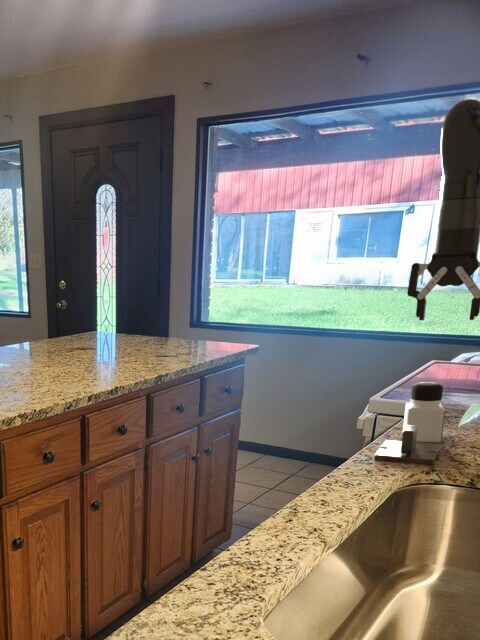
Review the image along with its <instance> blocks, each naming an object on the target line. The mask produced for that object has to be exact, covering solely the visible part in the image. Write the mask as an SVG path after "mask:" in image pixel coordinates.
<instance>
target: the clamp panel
mask: <svg viewBox="0 0 480 640" xmlns="http://www.w3.org/2000/svg"><path fill="white" fill-rule="evenodd" d="M401 446H402V440H401V441H400V440H388V439H387V440H386V439H385V441H384V442H383V444H382V445H380V446H379V449H377V451H376V453H375V454H374V459H373V461H376V462H385V463H386V462H387V463H397V464H398V463H399V464H407V465H418V466H429V467H432V466H434V464H435V462H436V460H437V457H438V455H439V453H440V451H441V444H439V443H429V442H416V446H415V447H414V449H413V451H412V453H401Z"/></svg>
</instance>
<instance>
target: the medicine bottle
mask: <svg viewBox="0 0 480 640" xmlns="http://www.w3.org/2000/svg"><path fill="white" fill-rule="evenodd" d="M410 391H411V392H410V401H409V402H406V403H405V407H404V408H405V409H404V416H403V428H402V432H403V431H404V430H405V428H406V427H407V426H408V425H414V426H418V428H417V437H416V443H438V444H439V443H441V442H442V440H443V432H444V423H445V417H446V409H445V408H444V406H443V405H442V400H443V393H444V386H443V385H442V384H441V383H438V382H432V381H431V382H430V381H421V382H416V383H414V384H413V385H412V386H411V390H410Z"/></svg>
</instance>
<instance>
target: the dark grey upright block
mask: <svg viewBox="0 0 480 640" xmlns="http://www.w3.org/2000/svg"><path fill="white" fill-rule="evenodd" d="M417 428H418V426H414V425H408V426H407V427H406V428H405V430H404V431H403V430H402V436H401V437H402V438H401V441H402V446H401V453H412V451H413V449H414V447H415V446H416V443H417V442H416V437H417Z"/></svg>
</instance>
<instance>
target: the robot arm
mask: <svg viewBox="0 0 480 640" xmlns="http://www.w3.org/2000/svg"><path fill="white" fill-rule="evenodd" d="M440 133H441V134H440V155H441V158H440V159H441V168H442V170H441V171H442V176H441V181H440V191H439V199H438V206H437V209H436V213H435V221H434V225H433V228H434V230H433V239H432V247H431V248H432V249H431V257H430V261H429V262H428V263H419V262H414V263H413V264H411V269H410V276H409V281H408V286H407V292H406V294H407V296H408V297H411V298H414V299H416V301H417V302H416V308H415V309H416V311H415V316H416V318H418V321H425V316H426V308H427V299H426V297H427V296H428V295H429V293H430V292H431V291H432V290H433V289H434V288H436V286H439V287H448V286H453V287H459V286H462V285H464V286H466V288H467V289H468V291H469V292H470V294H471V295H472V296H473V298H472V299H471V305H470V312H469V321H474V320H475V318H476V317H478V316H479V314H480V288H479V287H478V285H477V283H476V281H474V279H473V278H472V275H473V274H475V272H476V271H477V270H478V269H479V268H480V261H479V260H478V252H479V251H478V250H479V245H480V100H478V99H475V98H468V99H467V98H466V99H462V100H460V101H458V102H457V103H456V104H454V105H453V106H452V107H451V108H450V109H449V110H448V112H447V114H446V115H445V117H444V121H443V123H442V127H441V131H440ZM425 270H427V272H428V274H429V275H430V277H431V279H430V280H429V281H428V282H427V283H426V285H425V286H424V287H423V288H422V289H421V291H420V290H417V289H418V283H419V276H421V275H423V274H424V272H425Z"/></svg>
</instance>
